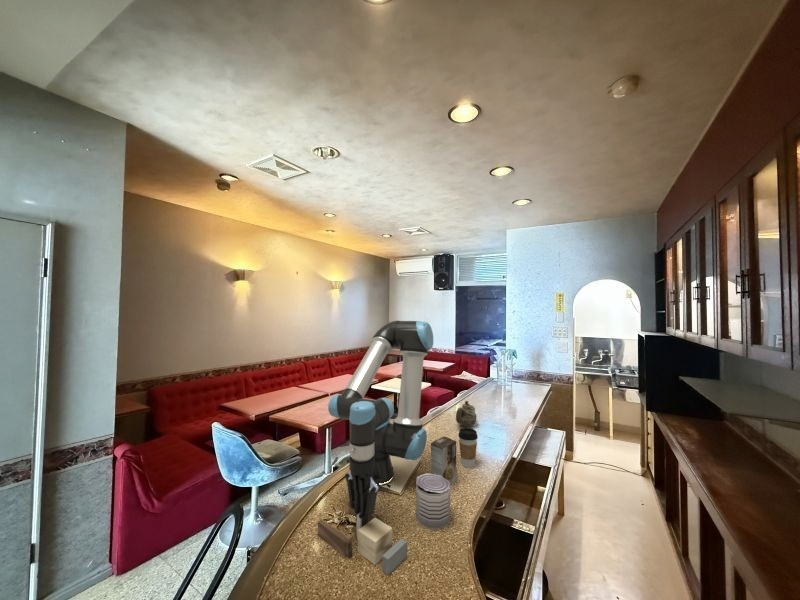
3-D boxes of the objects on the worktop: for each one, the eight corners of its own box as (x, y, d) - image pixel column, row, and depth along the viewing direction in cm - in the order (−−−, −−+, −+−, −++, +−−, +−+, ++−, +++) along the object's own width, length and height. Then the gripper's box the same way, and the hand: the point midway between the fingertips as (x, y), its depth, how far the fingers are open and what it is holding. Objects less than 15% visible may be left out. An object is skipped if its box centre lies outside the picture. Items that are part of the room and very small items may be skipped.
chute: (352, 511, 105) (352, 496, 105) (382, 530, 96) (382, 513, 96) (317, 535, 94) (317, 517, 94) (348, 558, 85) (348, 539, 85)
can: (415, 506, 108) (415, 471, 108) (448, 507, 108) (448, 472, 108) (416, 529, 97) (416, 490, 97) (452, 530, 96) (452, 491, 97)
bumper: (401, 552, 88) (401, 538, 88) (406, 556, 86) (406, 541, 86) (382, 571, 81) (382, 555, 81) (388, 575, 80) (388, 559, 80)
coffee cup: (454, 464, 137) (454, 430, 137) (464, 457, 143) (464, 425, 143) (471, 471, 131) (471, 435, 131) (481, 464, 137) (481, 430, 137)
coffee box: (444, 475, 128) (444, 435, 129) (457, 481, 124) (457, 440, 124) (430, 483, 122) (430, 442, 122) (443, 490, 117) (443, 447, 118)
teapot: (464, 419, 193) (464, 394, 193) (482, 423, 186) (482, 398, 186) (448, 430, 175) (448, 403, 176) (467, 435, 168) (467, 407, 169)
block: (374, 537, 93) (375, 517, 93) (392, 549, 89) (392, 528, 89) (357, 551, 88) (357, 530, 88) (375, 564, 83) (375, 542, 83)
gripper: (338, 453, 94) (337, 532, 93) (368, 467, 86) (368, 554, 85) (356, 445, 100) (355, 519, 99) (386, 457, 91) (386, 538, 91)
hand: (361, 535), depth 92 cm, fingers closed
